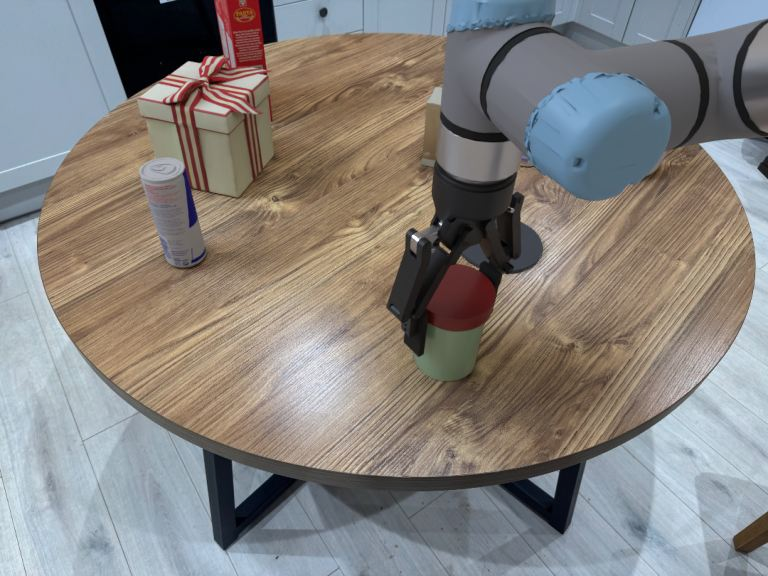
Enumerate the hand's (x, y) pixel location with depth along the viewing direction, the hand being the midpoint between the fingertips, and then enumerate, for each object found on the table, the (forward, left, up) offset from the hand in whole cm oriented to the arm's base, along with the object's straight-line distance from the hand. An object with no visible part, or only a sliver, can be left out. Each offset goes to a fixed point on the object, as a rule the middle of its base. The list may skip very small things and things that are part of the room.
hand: (449, 327), depth 67 cm
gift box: (+53, +7, -6) cm, 54 cm away
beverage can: (+34, +21, -6) cm, 40 cm away
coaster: (+13, -20, -5) cm, 24 cm away
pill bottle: (+29, -40, -6) cm, 50 cm away
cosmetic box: (+37, -26, -6) cm, 46 cm away
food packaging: (+72, -5, -6) cm, 72 cm away
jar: (0, 0, -5) cm, 5 cm away
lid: (0, 0, +6) cm, 6 cm away
